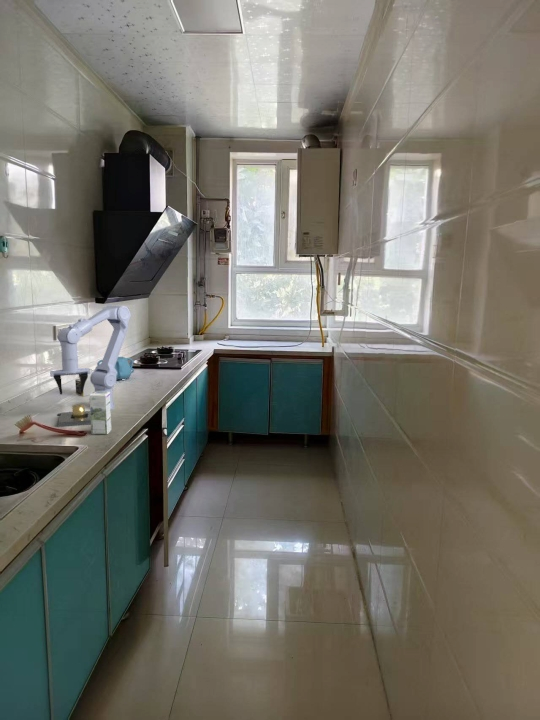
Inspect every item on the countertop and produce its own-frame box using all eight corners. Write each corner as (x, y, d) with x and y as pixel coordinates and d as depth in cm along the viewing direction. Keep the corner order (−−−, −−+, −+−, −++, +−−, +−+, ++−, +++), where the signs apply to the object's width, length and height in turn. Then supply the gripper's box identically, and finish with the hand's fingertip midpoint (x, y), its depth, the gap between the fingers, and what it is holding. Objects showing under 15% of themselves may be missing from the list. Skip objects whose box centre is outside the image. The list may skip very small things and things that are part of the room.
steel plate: (61, 417, 200) (61, 412, 200) (99, 415, 204) (99, 410, 204) (58, 427, 187) (58, 422, 186) (98, 424, 191) (98, 419, 191)
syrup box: (111, 430, 185) (110, 390, 183) (107, 434, 179) (105, 394, 177) (95, 429, 185) (94, 390, 182) (90, 434, 179) (89, 394, 177)
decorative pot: (112, 375, 285) (111, 351, 283) (137, 377, 280) (136, 353, 278) (94, 381, 270) (92, 355, 268) (119, 383, 265) (118, 357, 263)
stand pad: (57, 413, 205) (57, 413, 205) (73, 412, 207) (73, 412, 207) (56, 417, 200) (56, 416, 200) (72, 416, 202) (72, 415, 202)
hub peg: (70, 421, 195) (69, 406, 194) (80, 418, 199) (80, 403, 198) (77, 423, 193) (76, 407, 192) (87, 420, 196) (87, 405, 195)
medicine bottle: (75, 394, 240) (74, 369, 238) (89, 391, 245) (88, 367, 243) (83, 396, 235) (81, 371, 233) (97, 394, 240) (96, 369, 238)
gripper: (87, 356, 205) (89, 389, 207) (48, 358, 199) (50, 392, 201) (90, 359, 199) (92, 392, 201) (50, 361, 192) (52, 396, 195)
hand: (71, 393), depth 201 cm, fingers open, 7 cm apart
